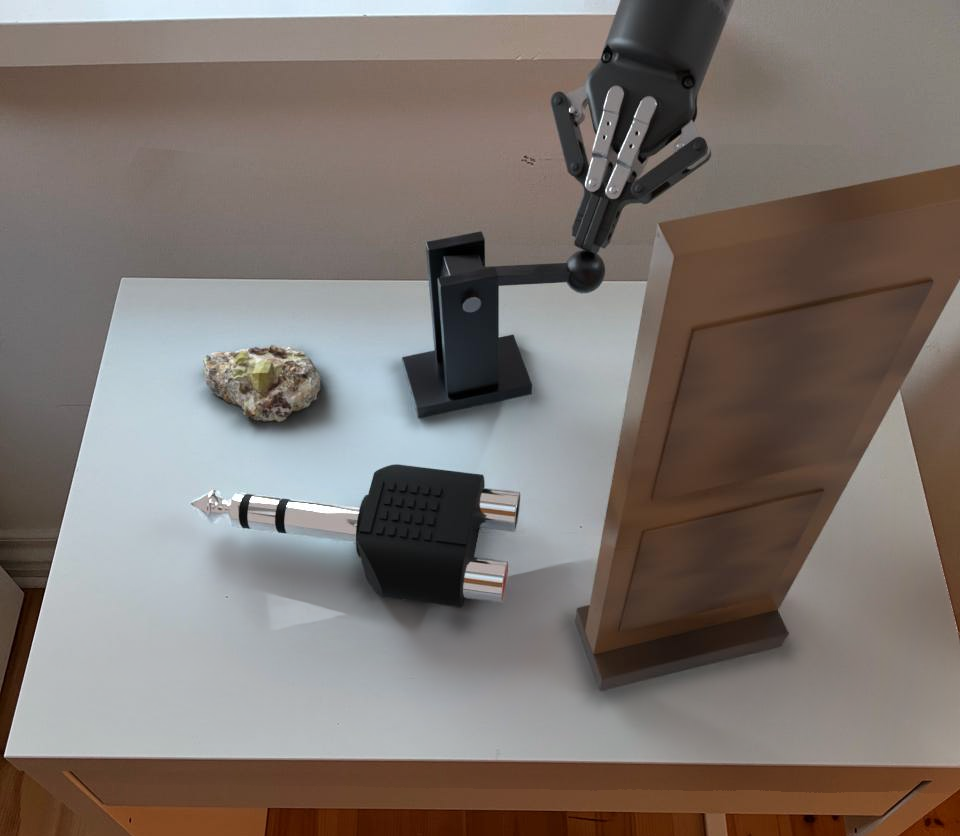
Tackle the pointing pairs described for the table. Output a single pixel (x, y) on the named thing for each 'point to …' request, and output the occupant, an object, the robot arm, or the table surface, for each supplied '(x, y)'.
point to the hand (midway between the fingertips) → (585, 249)
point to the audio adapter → (397, 530)
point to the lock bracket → (464, 338)
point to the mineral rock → (263, 380)
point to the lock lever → (537, 271)
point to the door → (757, 409)
